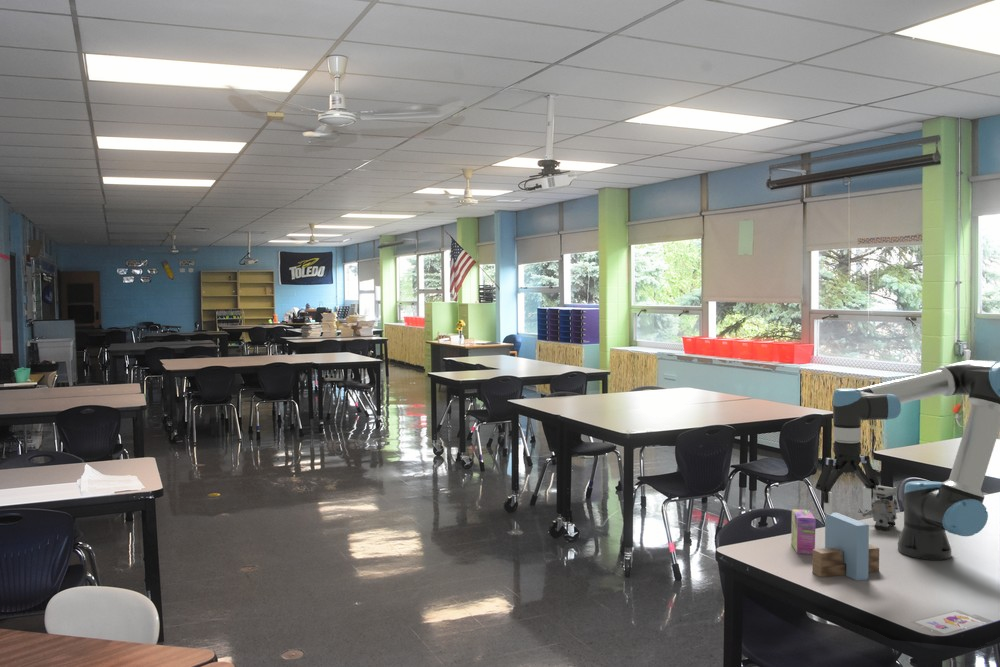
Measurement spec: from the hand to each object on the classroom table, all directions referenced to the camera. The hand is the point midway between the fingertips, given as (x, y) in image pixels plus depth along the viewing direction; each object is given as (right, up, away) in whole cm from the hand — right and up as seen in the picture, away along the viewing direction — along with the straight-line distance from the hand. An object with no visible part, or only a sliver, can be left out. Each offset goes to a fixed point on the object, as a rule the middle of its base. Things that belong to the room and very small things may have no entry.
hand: (847, 511), depth 228 cm
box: (-4, -18, +22) cm, 29 cm away
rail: (0, -18, 0) cm, 18 cm away
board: (0, -18, 0) cm, 18 cm away
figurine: (+33, -17, +48) cm, 61 cm away
